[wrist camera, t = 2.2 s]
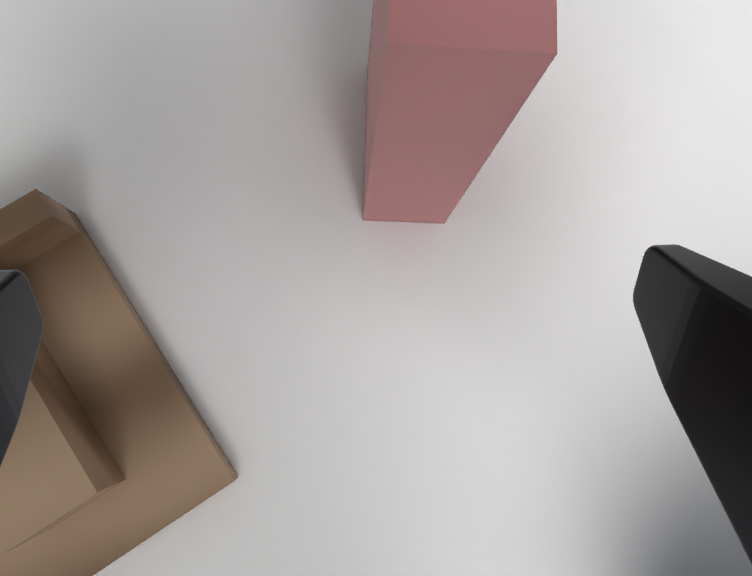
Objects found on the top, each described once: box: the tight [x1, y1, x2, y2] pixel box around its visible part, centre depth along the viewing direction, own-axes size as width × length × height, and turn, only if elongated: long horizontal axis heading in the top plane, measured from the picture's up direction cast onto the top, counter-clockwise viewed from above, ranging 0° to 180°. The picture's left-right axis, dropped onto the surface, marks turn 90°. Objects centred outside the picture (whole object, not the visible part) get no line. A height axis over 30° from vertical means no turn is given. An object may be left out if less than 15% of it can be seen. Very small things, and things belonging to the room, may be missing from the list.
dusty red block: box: [363, 0, 557, 223], centre depth 18 cm, size 6×3×12 cm, turn 178°
